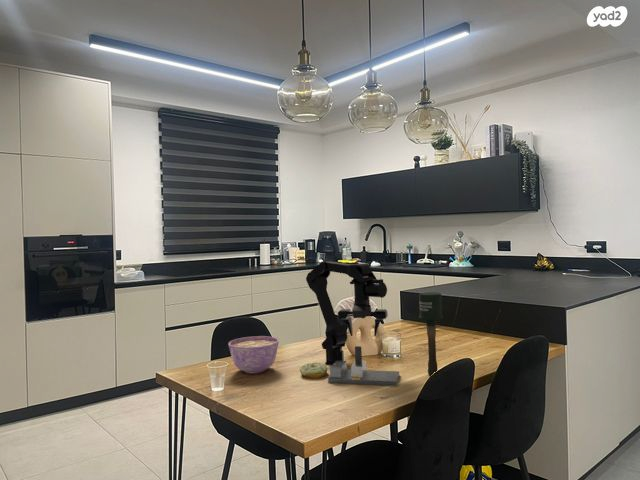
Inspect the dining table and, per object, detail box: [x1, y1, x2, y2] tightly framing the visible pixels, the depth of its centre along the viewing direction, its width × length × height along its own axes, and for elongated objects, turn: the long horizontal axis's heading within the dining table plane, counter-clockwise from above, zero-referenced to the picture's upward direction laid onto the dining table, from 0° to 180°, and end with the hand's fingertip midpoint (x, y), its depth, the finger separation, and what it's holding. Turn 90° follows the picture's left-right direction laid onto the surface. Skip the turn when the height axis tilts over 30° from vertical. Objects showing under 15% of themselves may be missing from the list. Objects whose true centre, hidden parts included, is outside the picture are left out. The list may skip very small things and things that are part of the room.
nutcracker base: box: [327, 360, 400, 387], centre depth 172 cm, size 24×12×5 cm, turn 75°
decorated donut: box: [299, 362, 328, 379], centre depth 180 cm, size 10×11×4 cm
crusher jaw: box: [350, 345, 367, 378], centre depth 172 cm, size 4×8×10 cm, turn 165°
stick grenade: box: [418, 291, 444, 377], centre depth 173 cm, size 8×9×30 cm
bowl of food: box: [228, 335, 280, 374], centre depth 188 cm, size 20×20×12 cm
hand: (363, 336), depth 184 cm, fingers open, 9 cm apart
